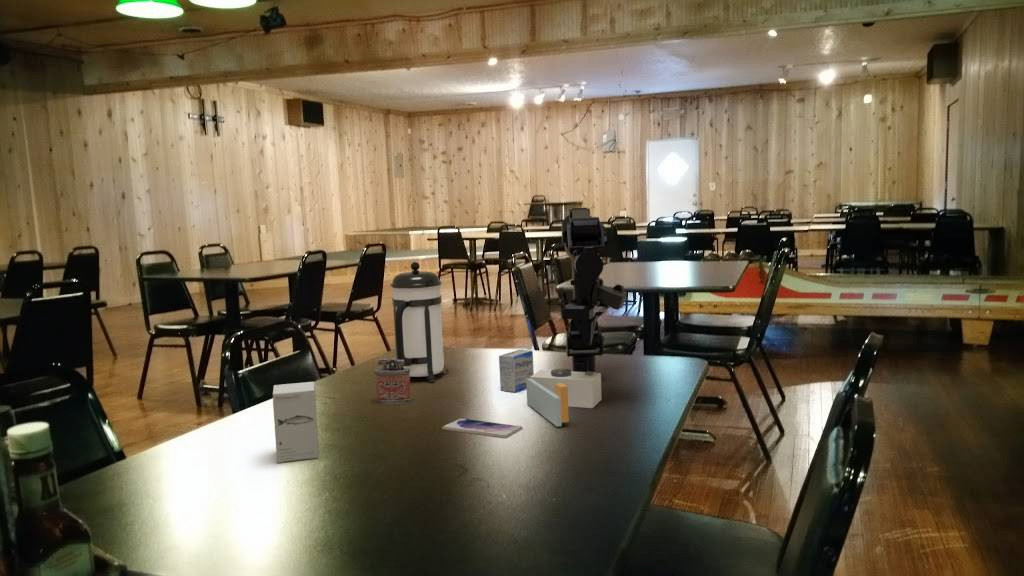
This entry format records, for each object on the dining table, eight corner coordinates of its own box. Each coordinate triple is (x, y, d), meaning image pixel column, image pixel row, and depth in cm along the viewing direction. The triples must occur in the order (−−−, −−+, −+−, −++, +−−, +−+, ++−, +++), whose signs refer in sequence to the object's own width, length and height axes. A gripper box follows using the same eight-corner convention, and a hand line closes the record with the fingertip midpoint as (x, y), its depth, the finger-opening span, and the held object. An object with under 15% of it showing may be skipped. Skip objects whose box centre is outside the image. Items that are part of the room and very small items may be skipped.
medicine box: (515, 393, 169) (513, 356, 168) (499, 390, 171) (498, 354, 170) (534, 385, 175) (533, 350, 174) (519, 383, 178) (518, 348, 177)
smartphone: (460, 417, 150) (524, 426, 142) (460, 421, 150) (524, 430, 142) (440, 426, 143) (505, 436, 136) (440, 430, 144) (505, 440, 136)
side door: (537, 401, 159) (536, 367, 158) (568, 424, 142) (567, 386, 141) (526, 403, 159) (525, 368, 158) (556, 426, 141) (555, 387, 140)
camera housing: (541, 395, 165) (540, 366, 165) (601, 399, 160) (600, 369, 159) (530, 403, 159) (529, 373, 158) (592, 408, 154) (591, 376, 153)
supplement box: (276, 464, 127) (270, 393, 126) (278, 451, 134) (272, 384, 133) (319, 458, 129) (314, 389, 128) (319, 446, 136) (314, 380, 135)
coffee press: (381, 376, 191) (374, 262, 188) (439, 368, 198) (433, 258, 194) (400, 390, 175) (392, 266, 172) (461, 381, 182) (456, 262, 179)
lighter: (413, 399, 167) (410, 356, 166) (409, 403, 163) (407, 359, 162) (379, 399, 168) (376, 357, 166) (374, 404, 164) (372, 360, 163)
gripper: (611, 280, 147) (613, 355, 149) (632, 270, 164) (633, 338, 166) (559, 279, 152) (561, 353, 153) (585, 270, 169) (586, 336, 171)
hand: (588, 345), depth 161 cm, fingers closed
